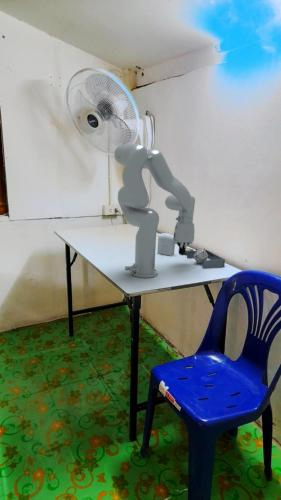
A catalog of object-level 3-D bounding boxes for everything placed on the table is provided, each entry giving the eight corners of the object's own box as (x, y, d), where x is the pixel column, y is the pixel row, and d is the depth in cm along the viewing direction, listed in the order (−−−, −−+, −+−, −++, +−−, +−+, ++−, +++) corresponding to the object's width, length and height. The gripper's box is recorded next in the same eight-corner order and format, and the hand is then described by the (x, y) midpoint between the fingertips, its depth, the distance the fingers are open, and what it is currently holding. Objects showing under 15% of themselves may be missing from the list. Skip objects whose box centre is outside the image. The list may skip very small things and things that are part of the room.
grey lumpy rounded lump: (196, 269, 176) (186, 254, 175) (205, 261, 180) (195, 246, 180) (206, 266, 168) (196, 250, 168) (216, 258, 173) (205, 242, 172)
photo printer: (175, 254, 189) (176, 234, 186) (172, 256, 186) (173, 235, 182) (159, 251, 194) (160, 231, 191) (156, 253, 191) (157, 233, 187)
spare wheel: (184, 255, 188) (184, 251, 187) (179, 252, 194) (179, 248, 194) (195, 255, 190) (195, 250, 189) (190, 251, 196) (190, 247, 196)
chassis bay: (203, 268, 167) (203, 261, 166) (186, 257, 184) (187, 251, 183) (225, 266, 171) (226, 259, 170) (207, 256, 188) (208, 249, 187)
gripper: (175, 220, 161) (171, 256, 165) (201, 221, 166) (197, 256, 170) (169, 218, 168) (165, 252, 172) (194, 219, 172) (191, 252, 177)
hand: (181, 254), depth 171 cm, fingers closed
